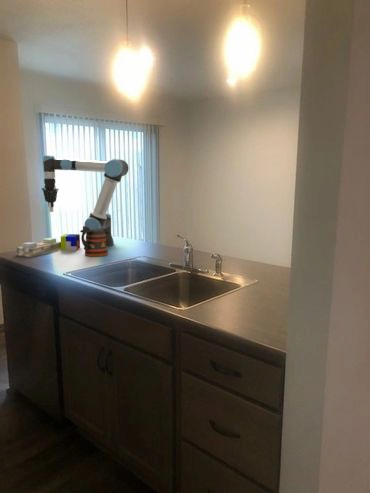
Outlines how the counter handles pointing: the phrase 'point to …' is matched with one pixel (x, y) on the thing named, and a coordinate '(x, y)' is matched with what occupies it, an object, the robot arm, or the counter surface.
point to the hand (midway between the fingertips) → (51, 211)
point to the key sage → (49, 240)
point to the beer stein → (94, 242)
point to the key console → (38, 249)
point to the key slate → (29, 245)
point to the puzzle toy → (70, 242)
